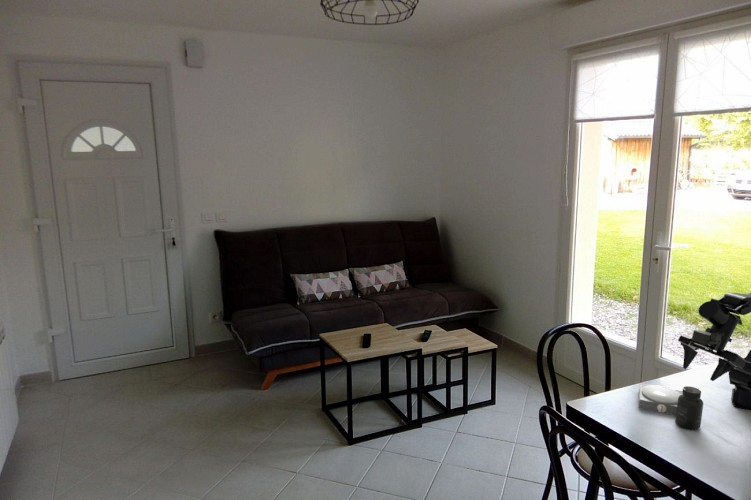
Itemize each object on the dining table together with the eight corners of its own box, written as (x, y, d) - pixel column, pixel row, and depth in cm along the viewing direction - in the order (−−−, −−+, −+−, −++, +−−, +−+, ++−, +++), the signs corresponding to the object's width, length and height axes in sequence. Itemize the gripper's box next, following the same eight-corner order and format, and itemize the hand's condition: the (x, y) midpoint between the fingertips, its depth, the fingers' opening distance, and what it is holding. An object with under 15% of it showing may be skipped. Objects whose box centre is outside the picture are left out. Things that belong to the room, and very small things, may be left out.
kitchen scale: (681, 399, 178) (682, 389, 177) (684, 417, 166) (685, 406, 165) (639, 391, 184) (640, 381, 183) (639, 408, 172) (640, 398, 171)
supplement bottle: (704, 432, 158) (708, 395, 155) (679, 430, 159) (683, 393, 156) (695, 420, 164) (699, 385, 162) (671, 418, 165) (675, 383, 163)
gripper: (680, 311, 168) (657, 353, 168) (737, 330, 151) (712, 377, 150) (699, 325, 172) (676, 366, 172) (757, 344, 155) (732, 390, 155)
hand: (697, 374), depth 162 cm, fingers open, 9 cm apart
